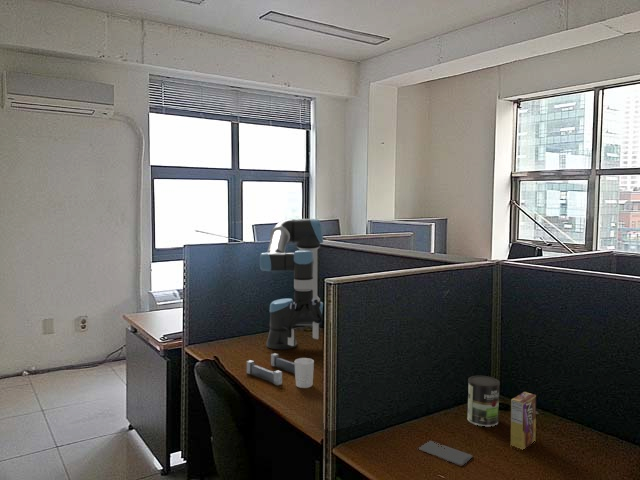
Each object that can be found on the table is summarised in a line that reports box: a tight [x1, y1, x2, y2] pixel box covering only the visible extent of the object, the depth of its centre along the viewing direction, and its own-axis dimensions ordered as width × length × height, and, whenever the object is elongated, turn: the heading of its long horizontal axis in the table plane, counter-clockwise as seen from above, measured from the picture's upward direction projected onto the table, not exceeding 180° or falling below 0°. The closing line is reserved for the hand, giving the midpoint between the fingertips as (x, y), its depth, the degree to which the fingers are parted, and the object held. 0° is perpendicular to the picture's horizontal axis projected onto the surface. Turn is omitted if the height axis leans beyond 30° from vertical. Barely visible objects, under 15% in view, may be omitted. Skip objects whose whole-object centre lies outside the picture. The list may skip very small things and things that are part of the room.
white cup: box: [293, 357, 315, 389], centre depth 210 cm, size 8×8×10 cm
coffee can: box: [466, 375, 501, 428], centre depth 178 cm, size 10×10×14 cm
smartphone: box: [418, 440, 474, 466], centre depth 156 cm, size 8×1×15 cm
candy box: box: [510, 391, 537, 450], centre depth 161 cm, size 9×4×15 cm, turn 133°
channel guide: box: [246, 352, 295, 386], centre depth 223 cm, size 16×20×5 cm
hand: (303, 341), depth 209 cm, fingers open, 13 cm apart
